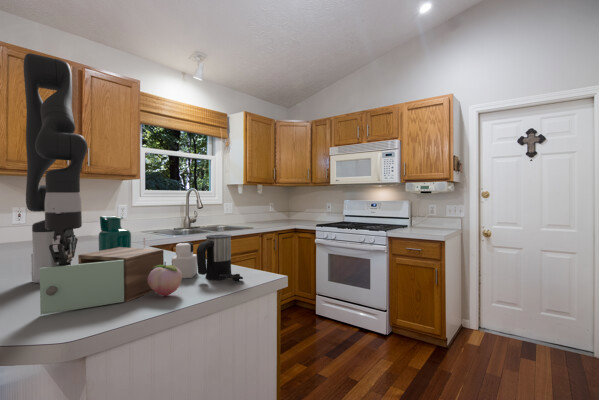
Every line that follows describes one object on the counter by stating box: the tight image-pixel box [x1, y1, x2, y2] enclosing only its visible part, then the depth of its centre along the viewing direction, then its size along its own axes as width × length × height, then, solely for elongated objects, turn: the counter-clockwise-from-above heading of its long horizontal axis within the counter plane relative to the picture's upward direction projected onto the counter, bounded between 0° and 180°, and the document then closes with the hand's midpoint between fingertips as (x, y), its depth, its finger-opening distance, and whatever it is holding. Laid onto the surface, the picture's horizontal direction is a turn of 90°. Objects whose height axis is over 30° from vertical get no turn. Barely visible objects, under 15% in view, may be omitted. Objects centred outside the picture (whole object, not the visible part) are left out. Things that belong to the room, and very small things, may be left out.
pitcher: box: [98, 215, 132, 251], centre depth 111 cm, size 10×8×22 cm
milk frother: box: [196, 234, 244, 283], centre depth 107 cm, size 14×16×15 cm
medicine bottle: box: [171, 241, 198, 279], centre depth 112 cm, size 7×7×12 cm
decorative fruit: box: [148, 261, 183, 297], centre depth 89 cm, size 9×8×10 cm
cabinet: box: [77, 247, 165, 302], centre depth 94 cm, size 18×14×12 cm
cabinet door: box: [39, 260, 125, 316], centre depth 79 cm, size 18×2×11 cm, turn 121°
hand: (64, 276), depth 80 cm, fingers closed
